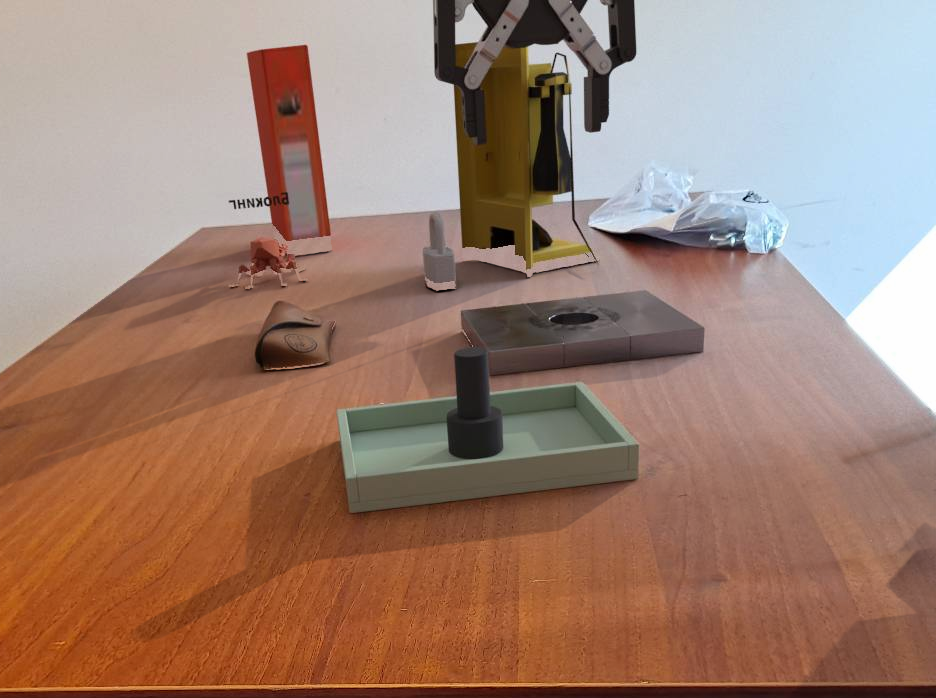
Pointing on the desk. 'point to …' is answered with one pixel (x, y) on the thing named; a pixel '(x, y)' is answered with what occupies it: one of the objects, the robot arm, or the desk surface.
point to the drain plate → (580, 332)
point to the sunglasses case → (293, 338)
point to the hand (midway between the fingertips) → (536, 137)
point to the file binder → (289, 140)
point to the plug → (473, 409)
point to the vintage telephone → (516, 157)
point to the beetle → (267, 244)
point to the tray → (509, 472)
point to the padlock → (438, 253)
